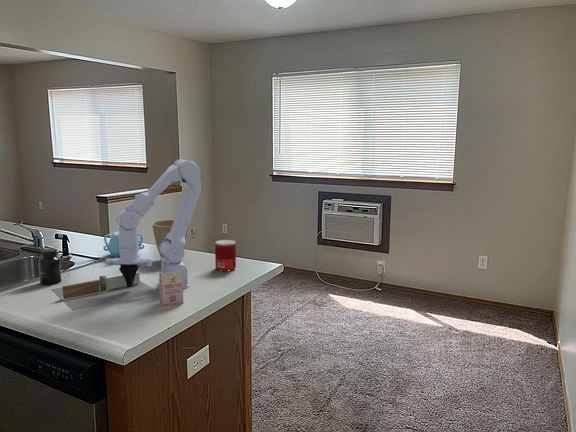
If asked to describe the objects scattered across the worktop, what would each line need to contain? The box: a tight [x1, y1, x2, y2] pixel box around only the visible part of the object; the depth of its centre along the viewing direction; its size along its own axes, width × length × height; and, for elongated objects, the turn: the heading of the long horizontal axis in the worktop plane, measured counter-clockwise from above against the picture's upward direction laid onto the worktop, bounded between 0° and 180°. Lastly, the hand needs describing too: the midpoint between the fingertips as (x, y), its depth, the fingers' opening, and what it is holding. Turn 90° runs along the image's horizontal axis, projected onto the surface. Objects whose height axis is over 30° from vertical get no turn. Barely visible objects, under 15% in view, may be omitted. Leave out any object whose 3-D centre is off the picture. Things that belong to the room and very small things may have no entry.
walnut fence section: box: [61, 275, 107, 299], centre depth 149 cm, size 2×13×5 cm, turn 131°
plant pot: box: [151, 219, 190, 260], centre depth 192 cm, size 15×15×16 cm
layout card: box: [50, 279, 159, 311], centre depth 154 cm, size 25×27×1 cm
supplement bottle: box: [38, 247, 62, 286], centre depth 160 cm, size 7×7×12 cm
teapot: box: [103, 230, 145, 258], centre depth 197 cm, size 20×17×12 cm
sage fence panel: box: [106, 271, 141, 290], centre depth 157 cm, size 1×11×4 cm, turn 131°
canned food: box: [214, 239, 237, 272], centre depth 181 cm, size 8×8×11 cm
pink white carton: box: [158, 271, 184, 307], centre depth 144 cm, size 4×7×10 cm, turn 112°
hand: (130, 286), depth 154 cm, fingers closed
